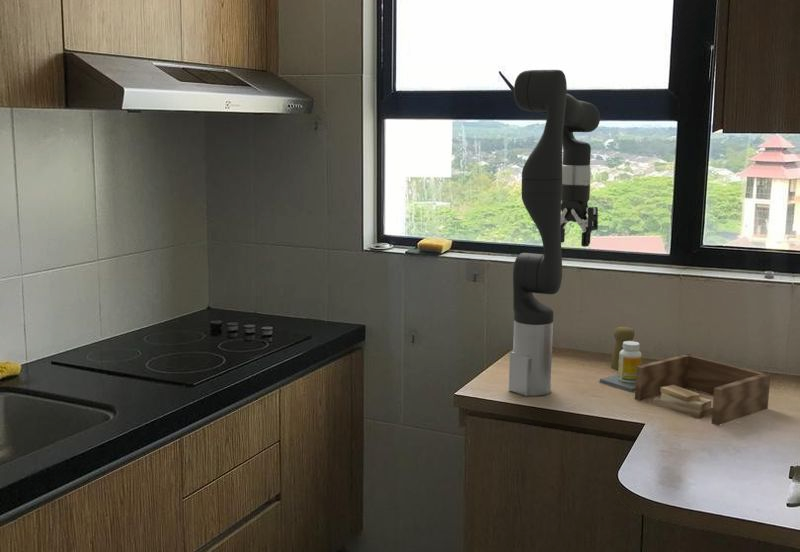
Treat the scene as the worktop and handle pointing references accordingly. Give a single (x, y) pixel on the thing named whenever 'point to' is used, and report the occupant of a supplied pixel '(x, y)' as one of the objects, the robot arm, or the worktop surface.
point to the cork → (620, 343)
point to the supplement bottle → (629, 361)
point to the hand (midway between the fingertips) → (572, 244)
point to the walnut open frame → (707, 384)
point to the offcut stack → (683, 401)
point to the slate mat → (618, 383)
